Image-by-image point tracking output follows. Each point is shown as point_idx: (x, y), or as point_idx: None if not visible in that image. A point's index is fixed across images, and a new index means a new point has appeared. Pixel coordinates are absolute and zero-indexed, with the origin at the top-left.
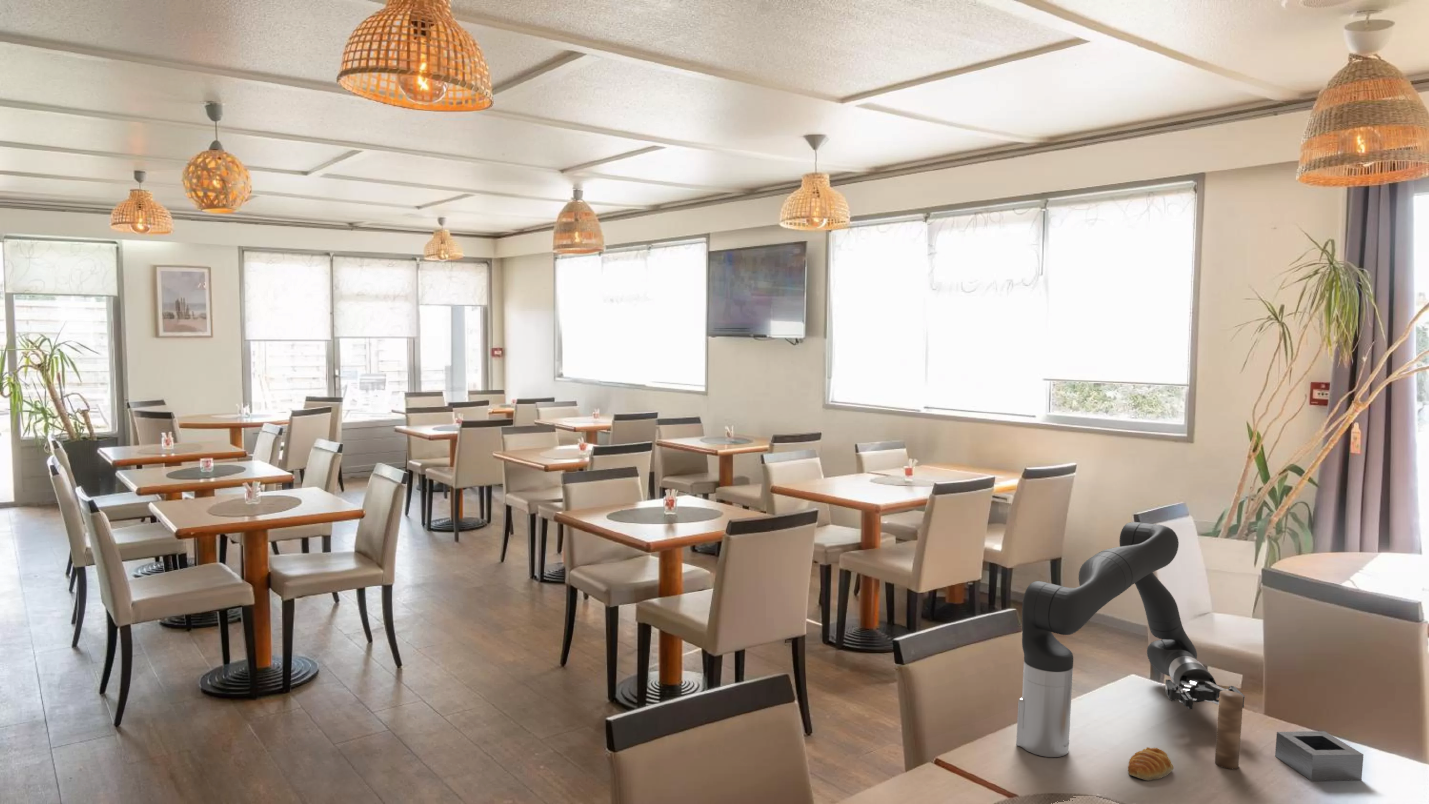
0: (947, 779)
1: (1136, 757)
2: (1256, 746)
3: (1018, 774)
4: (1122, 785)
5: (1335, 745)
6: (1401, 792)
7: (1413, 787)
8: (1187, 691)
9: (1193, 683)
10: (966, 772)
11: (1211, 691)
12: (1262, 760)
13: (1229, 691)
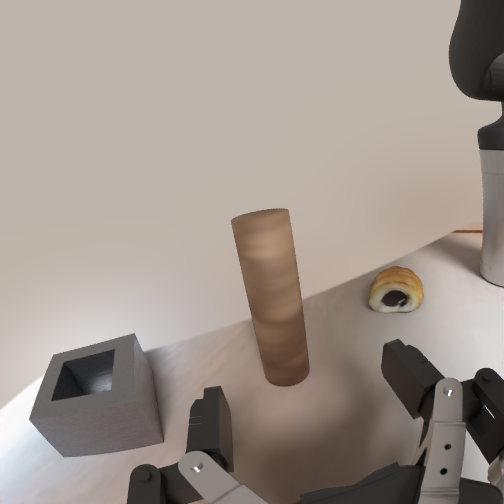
0: None
1: (410, 272)
2: None
3: (471, 243)
4: (403, 266)
5: (60, 379)
6: None
7: (34, 384)
8: (433, 403)
9: (434, 490)
10: None
11: (312, 495)
12: None
13: (260, 219)
